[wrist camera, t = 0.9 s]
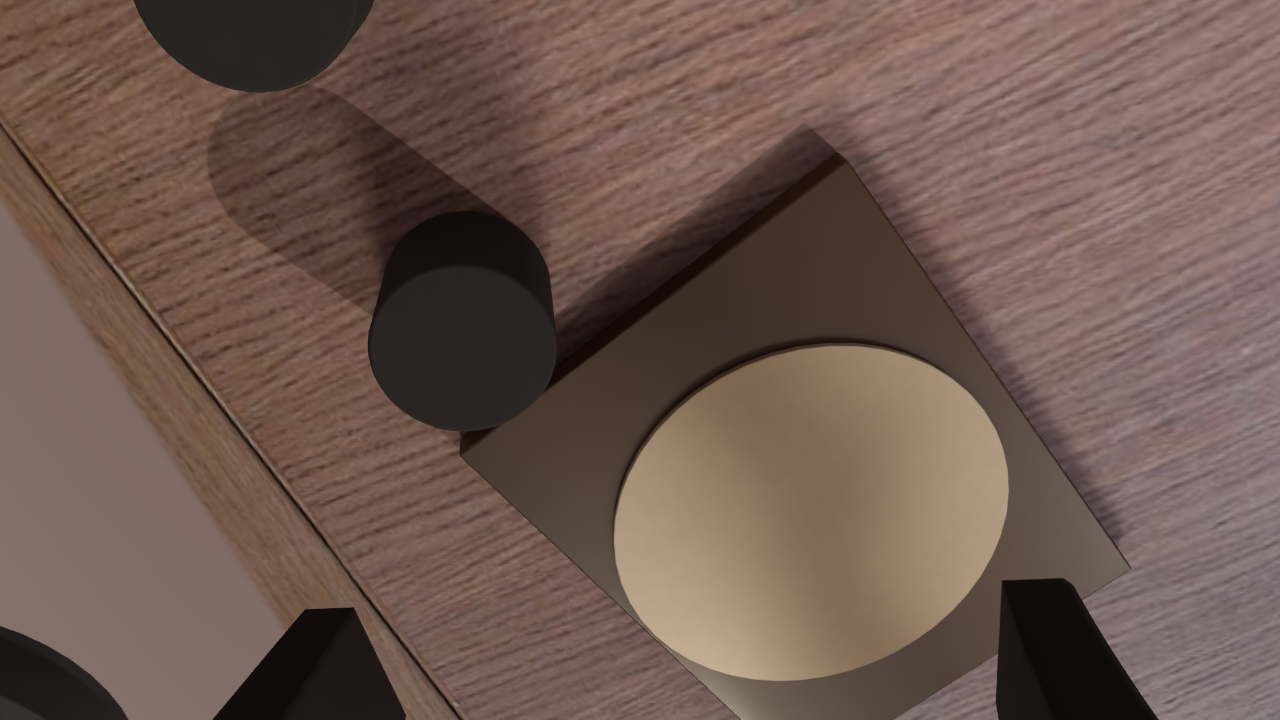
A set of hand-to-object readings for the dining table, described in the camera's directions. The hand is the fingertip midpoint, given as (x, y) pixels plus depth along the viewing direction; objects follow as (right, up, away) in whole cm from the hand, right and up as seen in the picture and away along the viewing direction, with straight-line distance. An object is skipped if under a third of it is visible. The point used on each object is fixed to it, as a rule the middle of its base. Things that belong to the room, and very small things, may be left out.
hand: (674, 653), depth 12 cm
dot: (-5, +5, +14) cm, 15 cm away
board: (+4, -1, +18) cm, 18 cm away
